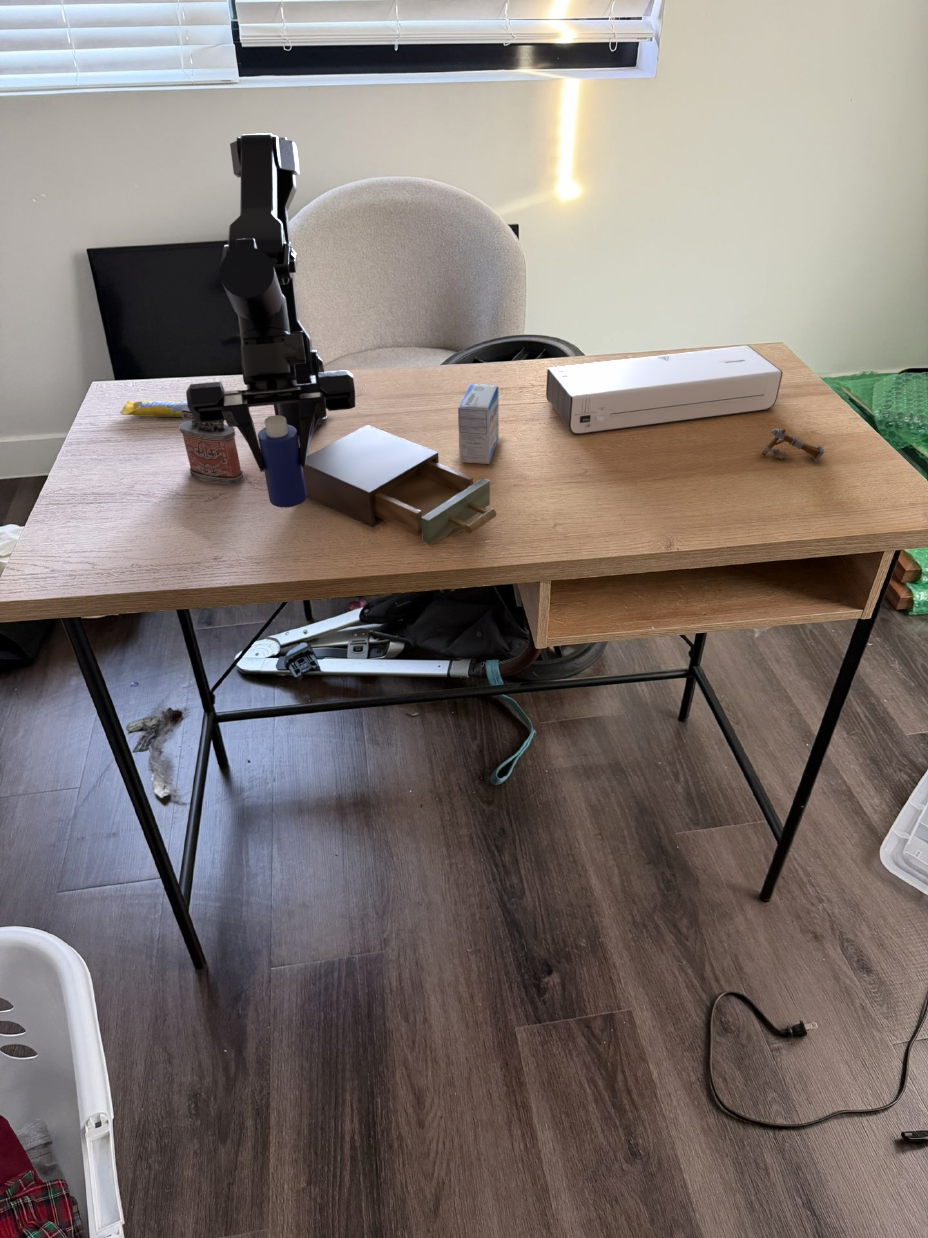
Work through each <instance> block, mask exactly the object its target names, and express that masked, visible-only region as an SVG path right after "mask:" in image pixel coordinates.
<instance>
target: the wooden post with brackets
mask: <svg viewBox="0 0 928 1238" xmlns="http://www.w3.org/2000/svg"><path fill="white" fill-rule="evenodd" d="M771 434H772V435H773V438H772V439H771V441H770V442H769V443H768V444H767V445H765V447H764V450H762V452H761V455H762V457H766V456H767V455H768V454H770V453H771V454H772V455H774V457H775V458H776V459H777V458H779V459H780V460H781V461H783V460H787V458H788V454H786V451H782V450H780V448H777V449H774V447H775V446H778V445H780V444H784V443H787V444H788V445H789V446H791V447H793V448H795V449H797V450H798V451H799V450H801V451H803V452H805V453H807V454H808V455H810V456H811V457H812V459H813V461H814V462H816V463H817V462H818V461H819V460H820V459H821V457H822V456H823V455H824V453H825V450H824V447H823V446H822V445H818V446H817V447H816V446H813V445H810V444H807V443H804V442H803V441H802V440H800V439H798V438H797V437H794V436H790V435H789V434H787V433H786V429H785V428H780V429H779V428H778V427H777V428H773V429H772V430H771Z"/></svg>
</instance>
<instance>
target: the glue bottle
mask: <svg viewBox="0 0 928 1238" xmlns="http://www.w3.org/2000/svg"><path fill="white" fill-rule="evenodd" d="M257 439H258V443H259V446H260V451H261V456H262V460H263V466H264V471H263V473H264V478H265V483H266V489H267V494H268V499H269V502H270V504H271V505H272V506H274V507H277V508H282V509H286V508H287V509H288V508H293V507H298V506H300V505H302V504H303V503H304V502H305V501H306V500H307V498H308V497H307V495H306V488H305V482H304V475H303V468H302V466H301V460H300V451H299V443H300V441H299V435H297V430H296V429H295V428H294V427H293V426H290V425H287V422H286V418H285V417H284V416H280V415H275V414H274V415H270V416H268V417H266V418H265V419H264V427H262V428H261V429H260V430H259V431H258V433H257Z"/></svg>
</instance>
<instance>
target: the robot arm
mask: <svg viewBox="0 0 928 1238" xmlns="http://www.w3.org/2000/svg"><path fill="white" fill-rule="evenodd" d="M229 147H230V155H231V163H232V171H233V175H234V176H235V177H236V178H240V200H239V201H240V202H239V203H240V205H239V206H240V208H239V209H240V210H239V211H240V212H239V216H238V217H237V218H236V219H234V221H233V222H232V223H230V225H229V226H228V228H229V229H228V239H227V244H224V245H223V249H222V254H221V255H222V256H221V260H220V265H219V269H218V270H219V271H218V272H219V273H218V275H219V279H220V282H221V283H222V286H223V289H224V291H225V293H226V295H227V297H228V300H229V302H230V304H231V307H232V308H233V311H234V313H235V314H236V315H237V319H238V328H239V336H240V345H241V346H240V351H241V360H240V366H241V372H242V380H243V381H242V382H243V384H244V385H245V386H246V389H236V390H225V388H224V386H223V383H222V381H212V382H211V381H209V382H199V383H191V384H190V385H189V386H188V387H187V389H186V391H185V394H186V395H185V396H186V402H187V405H188V408H189V410H190V412H191V414H192V416H193V417H194V419H195V421H196V422H198V423H210V422H220V421H224V422H225V423H226V425H227V426H229V427H233V428H237V429H238V431H239V432H240V434H241V435H242V437H243V439H244V440H245V442H246V444H247V445H248V447H249V449H250V451H251V453H252V456H253V458H254V460H255V463H256V465H257V467H258V469H259V471H260V472H261V473H264V466H263V460H262V456H261V451H260V445H259V440H258V434H257V431H256V428H255V424H254V420H253V417H252V415H251V412H250V408H255V407H263V406H273V410H274V416H275V415H280V416H284V417H285V418H286V422H287V425H290V426H293V427H294V428H295V429H296V430H297V435H298V436H299V451H300V460H301V466H302V467H305V465H306V461H307V456H308V455H309V451H310V448H311V447H310V446H311V441H312V438H313V435H314V432H315V430H316V429H318V427H320V426H321V425H322V424H324V423H325V422H327V420H328V417H327V416H328V413H327V410H328V411H329V412H333V411H334V412H335V411H343V410H345V411H346V410H351V409H352V410H353V409H354V408H356V387H355V380H354V375H353V374H352V373H351V372H350V371H349V370H348V369H347V370H346V369H345V370H344V369H343V370H334V371H325V366H324V362H323V359H321V357H320V356H319V354H318V351H317V350H313V349H314V348H313V341H312V338H311V336H310V335H309V333H308V332H307V330H306V329H305V327H304V326H303V325H302V324H301V322H300V318H299V309H298V299H297V289H296V280H295V273H297V269H298V254H297V252H296V251H295V250H294V246H293V245H292V241H291V230H290V222H289V212H288V211H289V209H290V206H291V204H292V202H293V200H294V197H295V195H296V193H297V179H296V176H300V162H299V153H298V147H297V145H296V143H295V142H294V141H293V140H289V139H287V137H286V136H281V137H278V135H273V134H272V133H246V134H245V133H243V134H242V135H241V136H237V137H236V140H235V141H233V142H231V143H229Z"/></svg>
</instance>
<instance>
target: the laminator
mask: <svg viewBox="0 0 928 1238" xmlns="http://www.w3.org/2000/svg"><path fill="white" fill-rule="evenodd" d="M783 374H784V373H783V371H782V370H781V369H780V368H779V367H777V366H776V365H775V364H774V363H773V362H771V361H769V360H768V359H767V358H766V357H764V356H763V355H762V354H760V353H759V352H758V351H756V350H755V349H754V348H752V347H751V346H750V345H740V346H739V345H738V346H731V347H722V348H721V347H720V348H714V349H713V348H712V349H705V350H697V351H688V352H686V351H685V352H678V353H670V354H662V355H661V354H660V355H652V356H643V357H635V358H625V359H617V360H616V359H615V360H608V361H600V362H592V363H583V364H575V365H565V366H557V367H555V366H554V367H548V368H547V370H546V386H545V388H546V391H545V397H546V400H547V402H548V403H550V405H551V407H552V408H553V409H554V410H555V411H556V413H557V414H558V415H559V417H560V418H561V420H562V421H563V422H564V424H565V425H566V426H567V427H568V429H569V432H570V433H571V434H573V435H579V436H580V435H587V434H588V435H589V434H595V433H603V432H604V433H605V432H610V431H619V430H627V429H634V428H635V429H636V428H641V427H648V426H657V425H663V424H673V423H681V422H688V421H696V420H702V419H703V420H704V419H711V418H719V417H726V416H733V415H741V414H743V415H744V414H748V413H758V412H765V411H768V410H770V409H772V408H774V406H775V404H776V403H777V399H778V395H779V391H780V387H781V382H782V378H783Z"/></svg>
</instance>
